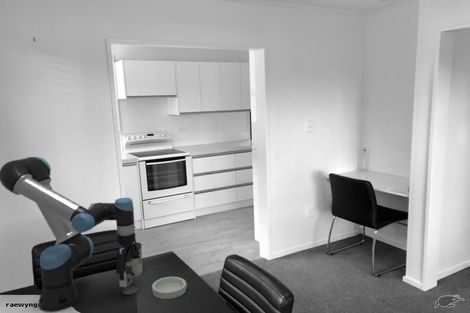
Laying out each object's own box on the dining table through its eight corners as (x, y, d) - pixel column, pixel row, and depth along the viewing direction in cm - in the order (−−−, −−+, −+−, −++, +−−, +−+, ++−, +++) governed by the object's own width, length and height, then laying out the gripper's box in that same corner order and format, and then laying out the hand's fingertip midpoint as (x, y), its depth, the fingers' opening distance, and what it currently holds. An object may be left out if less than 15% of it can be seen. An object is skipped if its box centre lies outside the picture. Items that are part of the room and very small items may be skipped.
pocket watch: (133, 296, 160) (132, 274, 159) (116, 294, 162) (114, 273, 161) (142, 287, 168) (141, 266, 167) (125, 286, 170) (124, 265, 169)
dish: (147, 298, 159) (147, 291, 158) (158, 282, 173) (158, 276, 173) (181, 300, 157) (181, 293, 156) (189, 283, 171) (189, 277, 171)
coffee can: (123, 279, 177) (122, 251, 175) (119, 271, 186) (118, 244, 184) (145, 274, 181) (143, 247, 180) (140, 266, 190) (138, 240, 189)
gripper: (122, 243, 149) (126, 293, 152) (144, 224, 173) (147, 267, 176) (104, 243, 150) (109, 292, 152) (129, 224, 174) (132, 266, 177)
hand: (129, 279), depth 164 cm, fingers open, 13 cm apart
